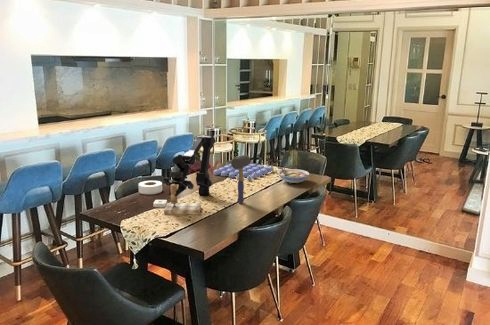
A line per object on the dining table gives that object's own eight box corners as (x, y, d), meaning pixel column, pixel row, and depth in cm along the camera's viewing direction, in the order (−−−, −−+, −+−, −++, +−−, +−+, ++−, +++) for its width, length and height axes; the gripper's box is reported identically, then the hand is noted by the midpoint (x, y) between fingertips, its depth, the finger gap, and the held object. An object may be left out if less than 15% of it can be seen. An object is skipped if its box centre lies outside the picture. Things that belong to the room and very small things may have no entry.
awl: (177, 204, 237) (176, 183, 234) (178, 207, 233) (178, 185, 230) (170, 205, 235) (169, 184, 232) (171, 207, 231) (170, 186, 228)
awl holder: (167, 203, 247) (167, 199, 246) (165, 207, 240) (164, 203, 239) (155, 203, 246) (155, 199, 246) (153, 207, 240) (153, 203, 239)
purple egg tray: (272, 172, 323) (272, 166, 322) (250, 182, 295) (250, 176, 294) (236, 166, 341) (236, 161, 340) (212, 175, 313) (212, 169, 312)
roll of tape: (152, 186, 283) (152, 178, 282) (167, 190, 273) (166, 183, 272) (133, 191, 271) (133, 183, 270) (148, 196, 261) (148, 188, 260)
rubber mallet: (240, 206, 242) (240, 158, 235) (230, 204, 246) (229, 157, 239) (251, 201, 252) (251, 154, 245) (241, 199, 256) (241, 153, 249)
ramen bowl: (311, 187, 282) (311, 176, 280) (278, 187, 282) (279, 176, 280) (306, 178, 306) (307, 167, 304) (276, 177, 306) (277, 167, 305)
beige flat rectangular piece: (201, 207, 241) (200, 203, 240) (199, 214, 229) (198, 210, 228) (167, 207, 240) (167, 203, 240) (164, 214, 229) (163, 210, 228)
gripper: (163, 164, 236) (152, 187, 229) (190, 167, 228) (180, 191, 221) (171, 173, 245) (161, 196, 237) (198, 177, 237) (188, 200, 230)
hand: (172, 195), depth 231 cm, fingers closed on awl, 4 cm apart
